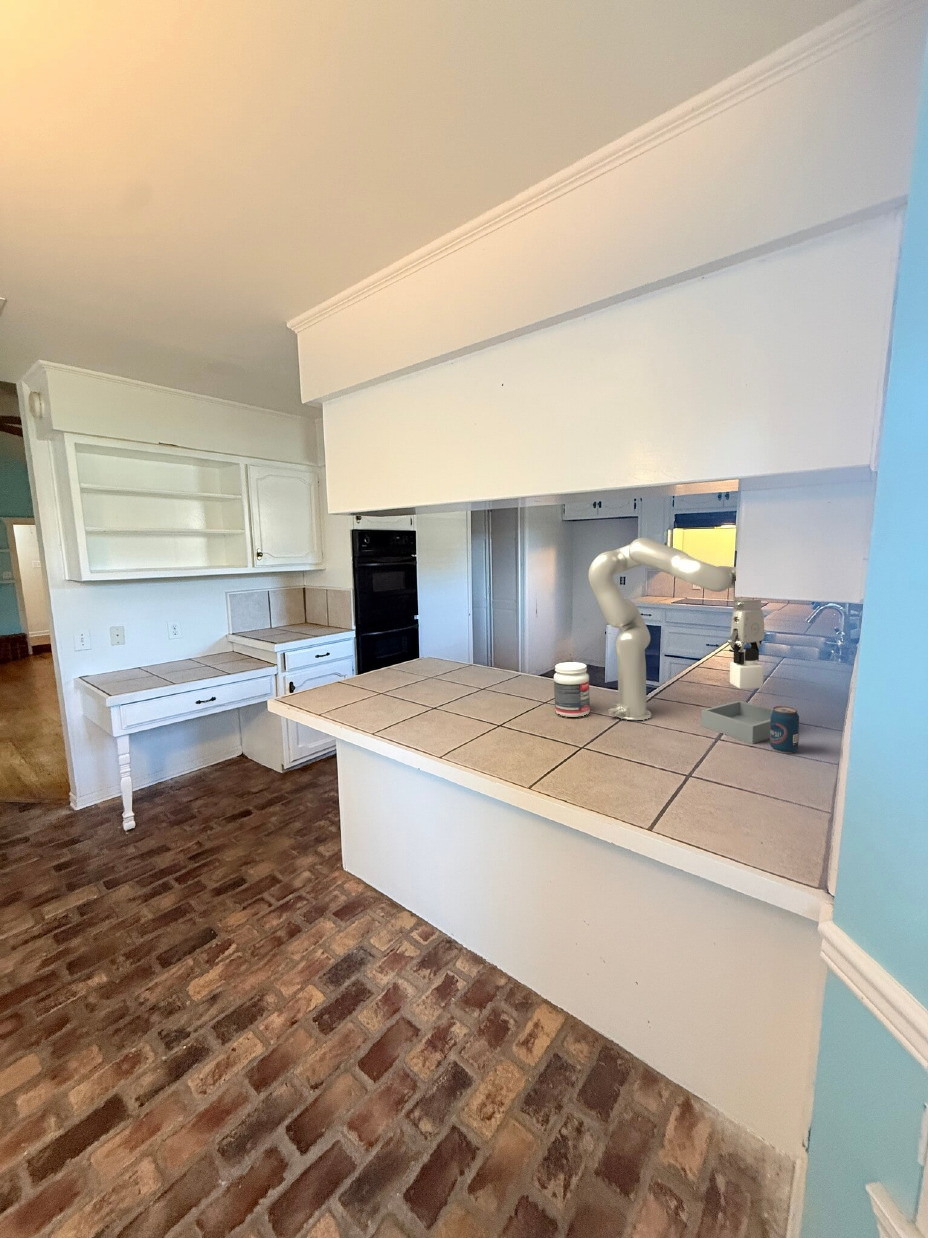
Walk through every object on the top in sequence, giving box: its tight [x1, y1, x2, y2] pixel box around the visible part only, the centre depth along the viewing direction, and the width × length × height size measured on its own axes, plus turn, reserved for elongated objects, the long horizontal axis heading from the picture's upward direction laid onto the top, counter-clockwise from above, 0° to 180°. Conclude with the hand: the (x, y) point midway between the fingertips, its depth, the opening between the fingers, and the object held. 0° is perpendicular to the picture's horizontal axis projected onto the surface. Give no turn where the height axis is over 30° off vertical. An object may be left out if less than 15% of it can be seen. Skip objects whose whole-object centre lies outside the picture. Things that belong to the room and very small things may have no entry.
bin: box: [700, 700, 773, 745], centre depth 158 cm, size 18×18×6 cm
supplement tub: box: [553, 661, 591, 717], centre depth 182 cm, size 13×13×18 cm
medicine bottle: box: [729, 647, 764, 690], centre depth 155 cm, size 7×7×12 cm
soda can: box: [769, 705, 800, 754], centre depth 141 cm, size 7×7×12 cm
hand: (746, 661), depth 155 cm, fingers closed on medicine bottle, 6 cm apart
